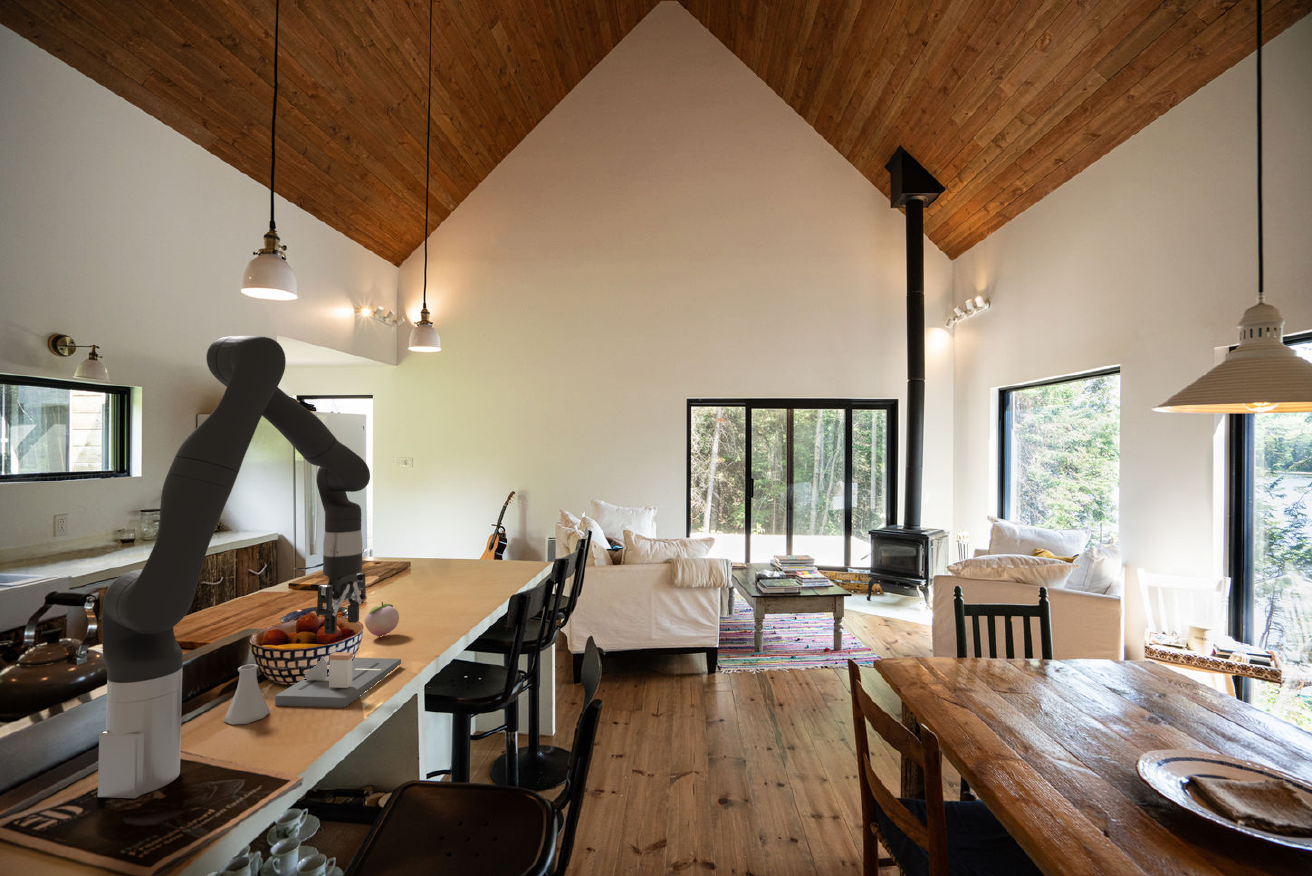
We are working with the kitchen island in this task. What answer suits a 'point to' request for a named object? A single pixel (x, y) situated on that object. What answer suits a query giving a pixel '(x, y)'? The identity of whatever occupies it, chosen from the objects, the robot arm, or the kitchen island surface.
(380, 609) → the decorative fruit
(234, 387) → the robot arm
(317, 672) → the fader
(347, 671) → the fader
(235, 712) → the flask
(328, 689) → the gray slotted board
